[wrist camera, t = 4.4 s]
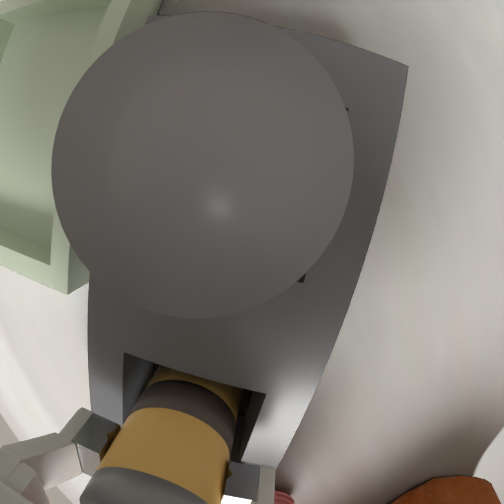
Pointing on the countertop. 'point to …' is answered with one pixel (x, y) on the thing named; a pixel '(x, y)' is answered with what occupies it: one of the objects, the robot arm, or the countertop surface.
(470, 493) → the bread
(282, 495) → the light bulb
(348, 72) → the fuse holder
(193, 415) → the cylinder
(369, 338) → the countertop surface
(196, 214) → the ball
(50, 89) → the tray
